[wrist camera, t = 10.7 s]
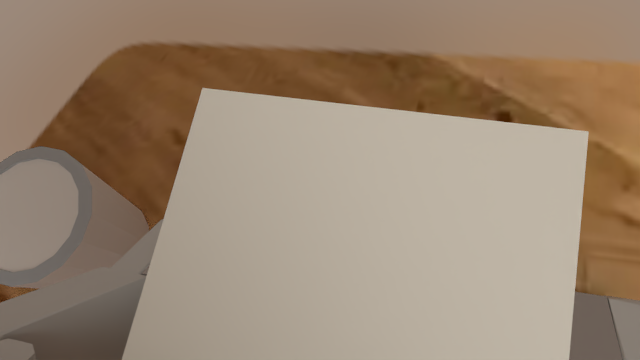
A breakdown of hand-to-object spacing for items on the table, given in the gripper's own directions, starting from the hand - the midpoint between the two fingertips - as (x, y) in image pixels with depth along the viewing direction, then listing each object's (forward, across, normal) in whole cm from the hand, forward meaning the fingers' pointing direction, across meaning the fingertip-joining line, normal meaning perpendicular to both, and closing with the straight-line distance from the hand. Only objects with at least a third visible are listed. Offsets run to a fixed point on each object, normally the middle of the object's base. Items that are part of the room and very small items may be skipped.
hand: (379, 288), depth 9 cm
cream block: (+3, 0, +4) cm, 5 cm away
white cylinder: (+16, +18, +13) cm, 28 cm away
